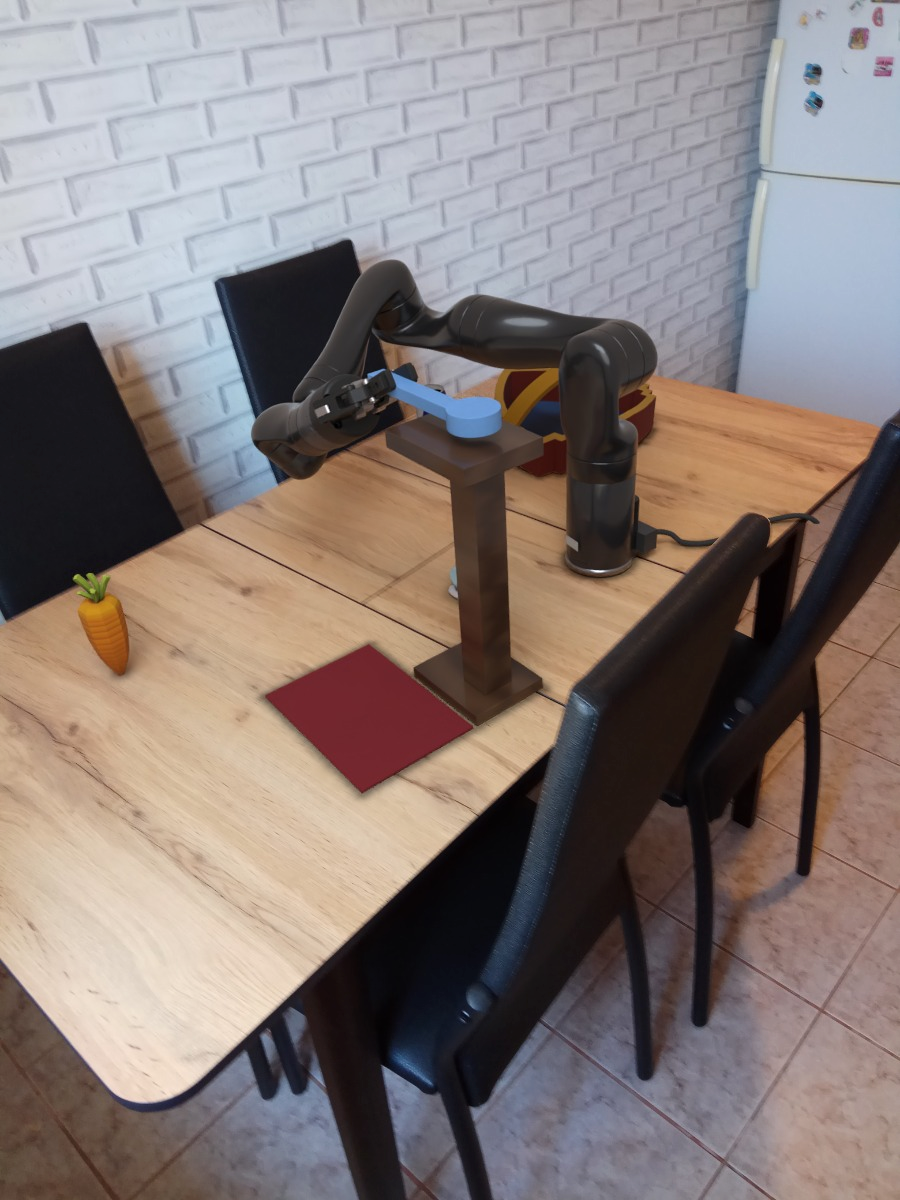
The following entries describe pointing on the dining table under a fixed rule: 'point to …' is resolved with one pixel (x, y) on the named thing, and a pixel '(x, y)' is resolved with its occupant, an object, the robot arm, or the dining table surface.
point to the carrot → (104, 622)
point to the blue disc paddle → (450, 408)
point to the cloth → (367, 716)
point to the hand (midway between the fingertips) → (401, 375)
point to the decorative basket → (557, 412)
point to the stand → (475, 562)
